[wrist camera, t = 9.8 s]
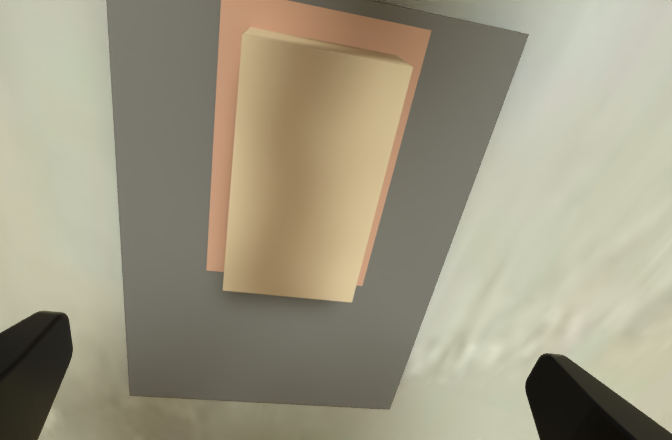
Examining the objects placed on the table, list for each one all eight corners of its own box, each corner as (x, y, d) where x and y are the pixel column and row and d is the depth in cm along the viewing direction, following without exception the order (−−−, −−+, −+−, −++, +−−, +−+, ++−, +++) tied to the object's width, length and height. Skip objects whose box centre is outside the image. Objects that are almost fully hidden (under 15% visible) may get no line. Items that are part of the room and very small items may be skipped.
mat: (387, 400, 25) (389, 411, 24) (133, 385, 22) (129, 397, 22) (520, 32, 15) (530, 34, 15) (110, -56, 13) (102, -58, 13)
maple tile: (395, 55, 15) (413, 67, 13) (345, 266, 19) (351, 302, 17) (250, 26, 14) (242, 35, 12) (231, 253, 18) (222, 290, 16)
